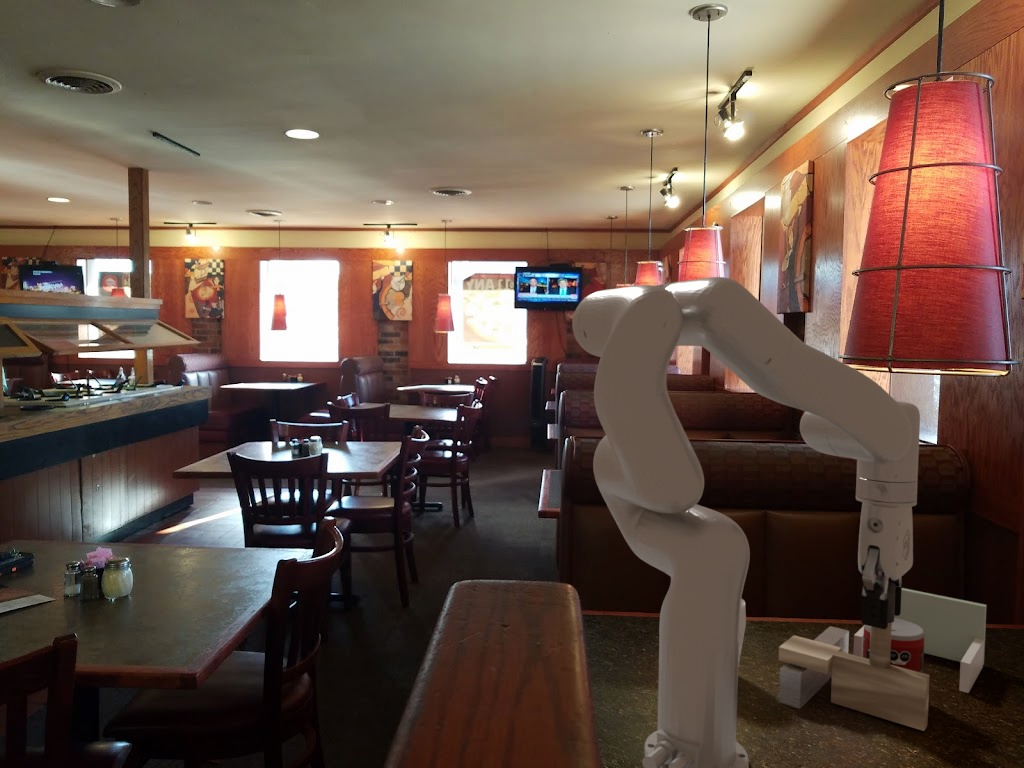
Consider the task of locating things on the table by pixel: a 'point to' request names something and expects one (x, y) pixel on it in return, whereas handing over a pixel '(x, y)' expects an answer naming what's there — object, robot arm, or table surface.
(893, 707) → the kicker figure
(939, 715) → the table surface
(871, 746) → the table surface
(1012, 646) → the table surface
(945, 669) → the table surface
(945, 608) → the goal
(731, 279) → the robot arm
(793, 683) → the rail
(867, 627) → the canned food
